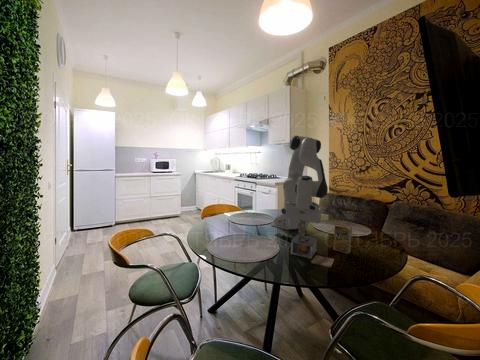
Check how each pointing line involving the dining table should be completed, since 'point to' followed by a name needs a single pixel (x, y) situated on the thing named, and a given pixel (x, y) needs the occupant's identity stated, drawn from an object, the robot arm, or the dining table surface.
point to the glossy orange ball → (303, 247)
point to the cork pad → (322, 261)
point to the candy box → (342, 238)
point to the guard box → (307, 241)
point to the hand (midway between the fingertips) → (301, 227)
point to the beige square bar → (301, 227)
